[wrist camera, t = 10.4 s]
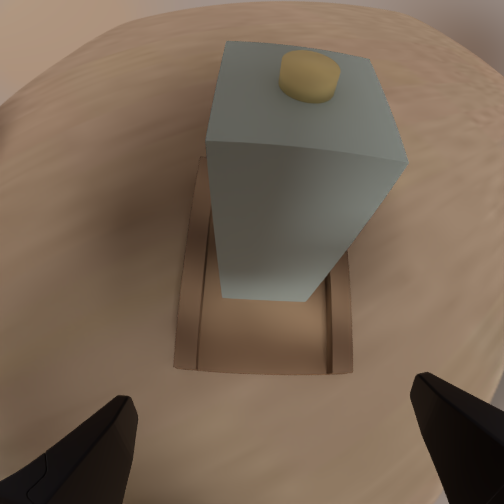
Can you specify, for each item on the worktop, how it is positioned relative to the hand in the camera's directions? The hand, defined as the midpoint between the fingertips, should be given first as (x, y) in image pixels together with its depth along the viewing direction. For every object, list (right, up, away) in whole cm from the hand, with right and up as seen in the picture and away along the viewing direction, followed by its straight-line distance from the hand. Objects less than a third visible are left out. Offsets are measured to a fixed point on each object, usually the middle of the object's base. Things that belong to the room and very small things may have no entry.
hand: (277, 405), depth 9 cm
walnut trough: (0, +4, +12) cm, 13 cm away
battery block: (0, +4, +11) cm, 12 cm away
